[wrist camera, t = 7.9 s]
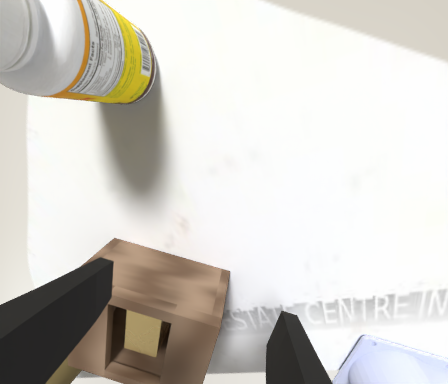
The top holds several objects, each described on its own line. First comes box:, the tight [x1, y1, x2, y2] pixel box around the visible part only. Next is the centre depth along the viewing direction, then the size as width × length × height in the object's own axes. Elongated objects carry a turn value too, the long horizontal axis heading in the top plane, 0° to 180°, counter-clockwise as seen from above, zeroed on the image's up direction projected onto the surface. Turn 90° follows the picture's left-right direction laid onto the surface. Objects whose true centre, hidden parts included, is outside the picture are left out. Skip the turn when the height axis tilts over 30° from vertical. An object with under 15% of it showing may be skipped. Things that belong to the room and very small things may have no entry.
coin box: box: [68, 238, 230, 384], centre depth 20 cm, size 12×10×6 cm
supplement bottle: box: [0, 0, 156, 104], centre depth 11 cm, size 6×6×10 cm
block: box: [124, 310, 170, 357], centre depth 20 cm, size 3×5×5 cm, turn 168°
